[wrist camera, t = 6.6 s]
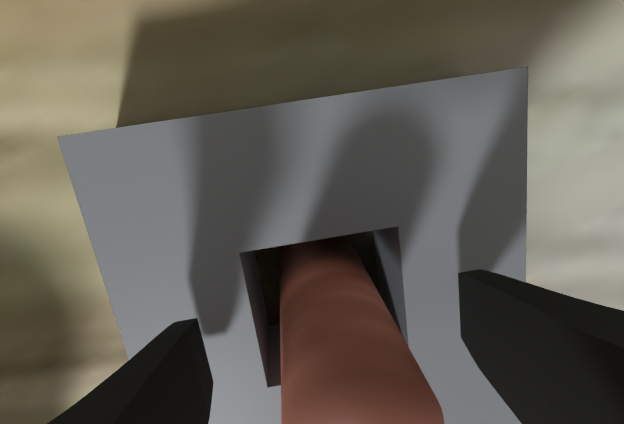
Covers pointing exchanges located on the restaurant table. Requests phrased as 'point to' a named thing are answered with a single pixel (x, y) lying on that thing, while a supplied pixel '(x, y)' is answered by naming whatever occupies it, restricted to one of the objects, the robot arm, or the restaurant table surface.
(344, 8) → the restaurant table surface
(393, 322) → the pin
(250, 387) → the block
